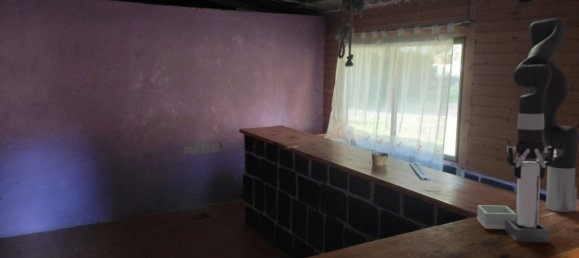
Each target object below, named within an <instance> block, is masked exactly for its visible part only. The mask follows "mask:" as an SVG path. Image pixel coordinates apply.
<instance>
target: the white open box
mask: <svg viewBox="0 0 579 258" xmlns="http://www.w3.org/2000/svg"><path fill="white" fill-rule="evenodd" d="M476 210H477V212H476V213H477V214H476V220H477V221H478V222H479V223H480V225H481V226H483V228H484V229H487V230H489V229H490V230H492V229H493V230H505V224H506V220H516V211H514V210H512V209H511V208H510V207H509V206H507V205H495V204H494V205H492V204H491V205H489V204H488V205H486V204H485V205H484V204H483V205H482V204H478V205H477V209H476Z"/></svg>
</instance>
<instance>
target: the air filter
mask: <svg viewBox="0 0 579 258" xmlns="http://www.w3.org/2000/svg"><path fill="white" fill-rule="evenodd" d="M519 168H520V178H519V179H517V185H516V186H517V188H516V207H515V208H516V209H515V210H516V211H515V213H516V226H517V227H518V228H521V229H538V222H539V217H540V216H539V215H540V194H541V193H540V192H541V190H540V188H541V179H540V173H541V166H540V163H538V162H537V161H529V160H526V161H525V160H524V161H523V162H522V163H521V164H520V166H519Z"/></svg>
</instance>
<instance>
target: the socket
mask: <svg viewBox="0 0 579 258" xmlns="http://www.w3.org/2000/svg"><path fill="white" fill-rule="evenodd" d="M504 230H505V233H506V234H508V235H509V236H510V238H511V239H512V240H514V242H516V243H544V244H549V243H550V234H551V232H550V231H551V230H550V229H548V227H546V226H545V225H544V224H542V222H540V221H538V229H521V228H518V227H517V226H516V220H506V224H505V229H504Z"/></svg>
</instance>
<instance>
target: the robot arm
mask: <svg viewBox="0 0 579 258" xmlns="http://www.w3.org/2000/svg"><path fill="white" fill-rule="evenodd" d="M566 37H567V24H566V21H565V20H564V19H563V18H562V17H556V18H555V17H554V18H547V19H541V20H537V21H533V22H532V23H531V24H530V26H529V39H530V43H531V48H532V49H530V51H529V52H528V55H527V58H526V59H524V60H523V61H522V62H520V63H519V64H518V65H517V66H516V68H515V70H514V72H513V74H512V75H513V76H512V77H513V78H512V80H513V82H514V84H515V85H516V86H517V87H520V88H521V87H522V88H536V90H535V92H533V93H528V94H523V95H521V96H520V97H519V100H518V116H517V126H516V127H517V130H516V131H517V132H516V144H515V146H510V145H509V146H507V145H506V147H505V150H506V163H507V165H509V166H512V167H513V168H512V172H513V173H512V174H513V177H514V178H515V179H516V180H518V179H519V178H520V168H519V166H520V164H521V163H522V162H523V161H525V160H529V159H532V160H535V162H538V163H540V166H541V173H540V180H543V179H544V178H545V176H547V178H546V179H547V180H546V196H545V198H546V199H545V200H546V201H545V208H546V209H547V210H549V211H552V212H557V211H558V212H559V213H572V212H576V211H577V210H576V209H577V192H578V191H577V187H576V186H575V184H576V183H575V182H576V164H577V159H578V150H579V130H578V128H577V127H575V126H572V125H558V124H557V115H558V112H559V110H560V108H561V107H562V106H563V104H564V103H565V101H566V99H567V98H568V94H569V90H568V82H567V77H566V74H565V73H564V72H563V71H562V69H560V67H558V66H557V65H556V64H555V63H554V62H553V61H552V58H553V56H554V54H556V52H557V50H558V49H560V47H561V46H562V45H563V43H564V42H565V40H566ZM544 144H545V145H544ZM555 149H557V150H563V151H562V154H561V155H558V156H554V154H555ZM515 152H517V155H516V156H515V160H514V154H515ZM543 152H544V153H545V157H544V159H543V157H542V153H543ZM546 168H547V175H546Z"/></svg>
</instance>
